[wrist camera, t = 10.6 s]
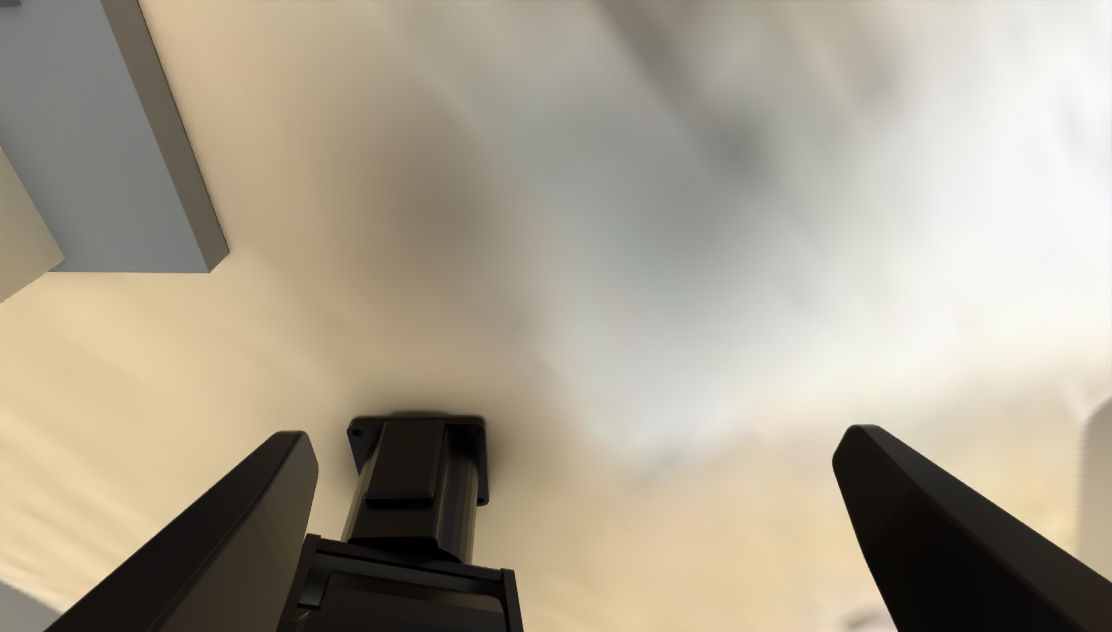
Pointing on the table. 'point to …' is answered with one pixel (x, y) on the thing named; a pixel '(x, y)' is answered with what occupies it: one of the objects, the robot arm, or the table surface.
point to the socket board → (93, 149)
